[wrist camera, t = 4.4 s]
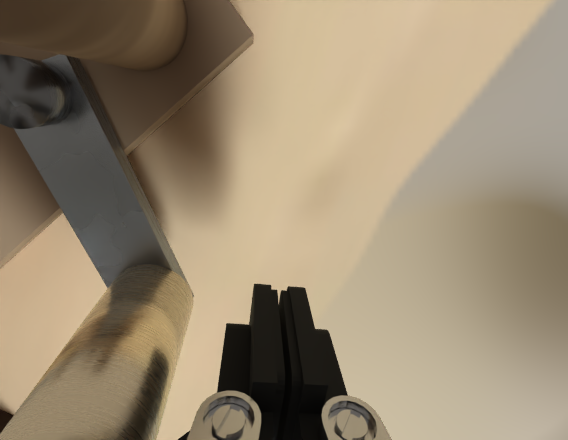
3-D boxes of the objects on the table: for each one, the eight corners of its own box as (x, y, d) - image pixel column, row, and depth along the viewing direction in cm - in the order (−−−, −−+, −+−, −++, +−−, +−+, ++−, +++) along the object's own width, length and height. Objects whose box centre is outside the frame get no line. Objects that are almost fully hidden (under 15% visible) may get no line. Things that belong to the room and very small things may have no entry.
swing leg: (208, 307, 14) (166, 511, 7) (138, 330, 14) (31, 552, 7) (84, 47, 10) (-233, -43, 4) (-9, 79, 10) (-490, 50, 4)
